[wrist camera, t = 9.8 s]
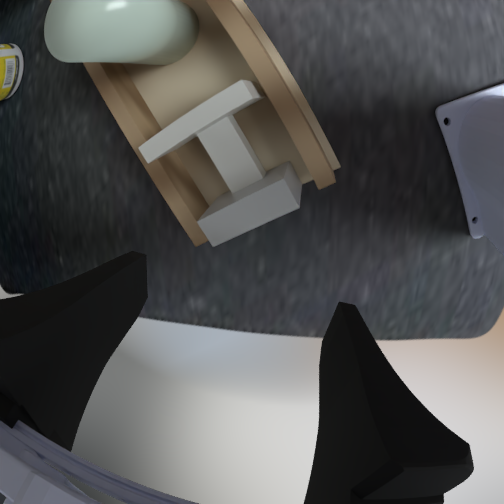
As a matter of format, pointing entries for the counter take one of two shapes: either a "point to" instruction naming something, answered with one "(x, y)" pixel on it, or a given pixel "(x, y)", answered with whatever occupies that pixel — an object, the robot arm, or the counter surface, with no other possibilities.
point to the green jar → (120, 31)
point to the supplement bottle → (10, 69)
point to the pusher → (231, 165)
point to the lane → (203, 88)
